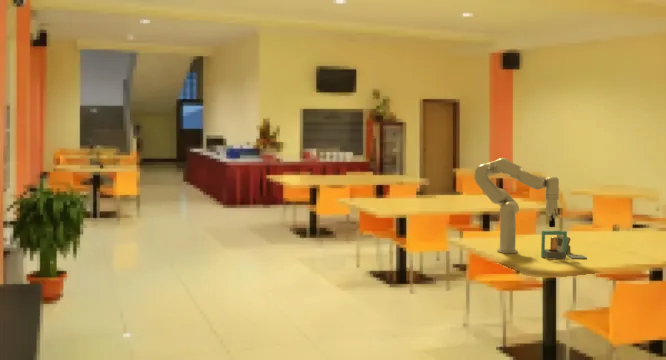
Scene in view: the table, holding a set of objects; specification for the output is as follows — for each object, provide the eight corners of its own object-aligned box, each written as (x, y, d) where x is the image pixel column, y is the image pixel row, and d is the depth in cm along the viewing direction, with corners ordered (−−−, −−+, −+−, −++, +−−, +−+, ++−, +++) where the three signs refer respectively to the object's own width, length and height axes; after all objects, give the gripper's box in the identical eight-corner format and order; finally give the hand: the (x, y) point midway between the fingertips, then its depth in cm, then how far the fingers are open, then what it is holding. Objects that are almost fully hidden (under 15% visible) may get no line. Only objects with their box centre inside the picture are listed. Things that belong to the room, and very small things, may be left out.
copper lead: (549, 256, 422) (549, 237, 421) (556, 256, 422) (556, 237, 421) (551, 257, 418) (551, 238, 417) (557, 257, 418) (558, 238, 417)
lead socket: (543, 255, 425) (543, 249, 425) (559, 255, 425) (559, 249, 424) (547, 258, 415) (547, 252, 415) (564, 258, 415) (564, 252, 414)
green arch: (541, 256, 422) (541, 230, 420) (564, 256, 421) (565, 230, 420) (542, 257, 419) (543, 231, 417) (566, 257, 418) (566, 231, 417)
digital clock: (551, 249, 447) (552, 233, 446) (565, 250, 446) (566, 233, 445) (557, 254, 431) (557, 237, 430) (572, 254, 430) (572, 237, 429)
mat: (567, 256, 424) (567, 254, 424) (581, 256, 424) (581, 254, 424) (571, 259, 414) (572, 257, 414) (587, 259, 414) (587, 257, 414)
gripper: (542, 196, 432) (542, 225, 433) (549, 198, 417) (549, 228, 418) (554, 196, 431) (554, 225, 433) (561, 198, 416) (561, 228, 418)
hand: (552, 226), depth 425 cm, fingers closed
